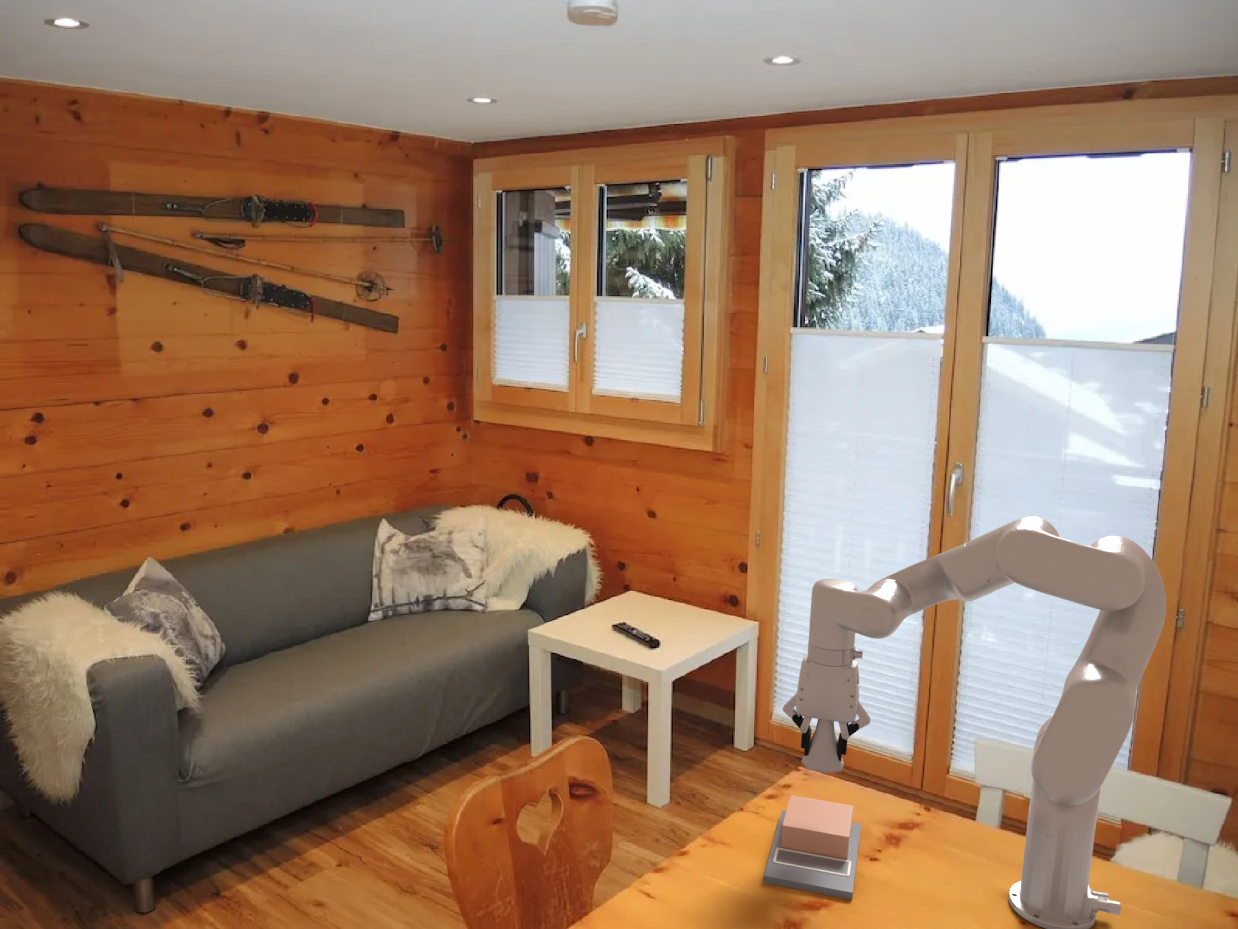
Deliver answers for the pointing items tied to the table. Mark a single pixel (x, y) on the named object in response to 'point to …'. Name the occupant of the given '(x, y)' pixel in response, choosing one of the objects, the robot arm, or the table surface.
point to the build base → (812, 862)
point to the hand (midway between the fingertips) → (823, 754)
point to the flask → (823, 749)
